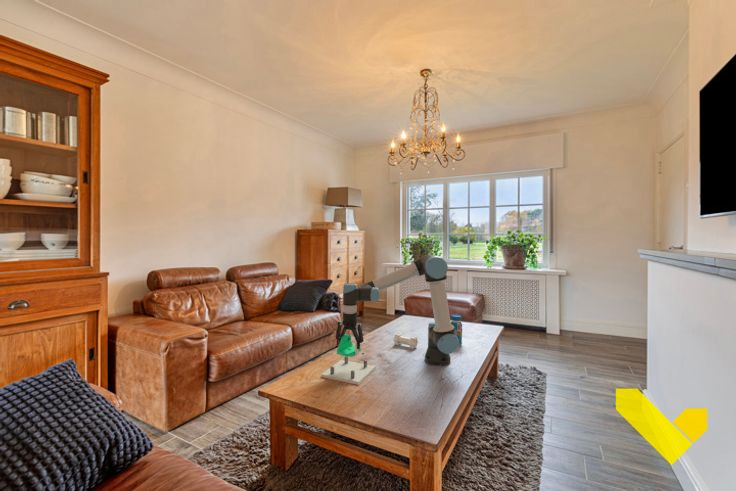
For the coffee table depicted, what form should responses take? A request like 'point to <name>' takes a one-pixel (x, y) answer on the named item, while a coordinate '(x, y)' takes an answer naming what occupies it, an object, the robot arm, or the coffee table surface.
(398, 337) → the dog bone
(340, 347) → the camera mount
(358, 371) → the stub plate
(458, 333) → the beverage bottle
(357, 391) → the coffee table surface
